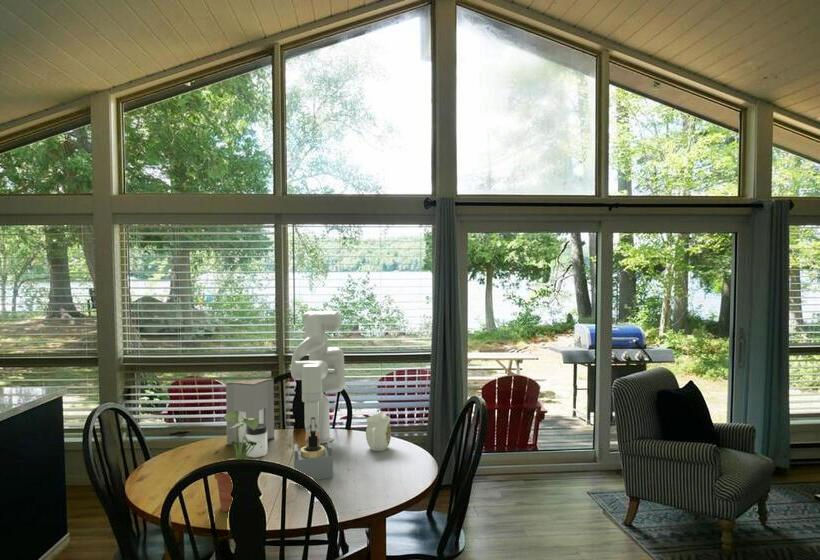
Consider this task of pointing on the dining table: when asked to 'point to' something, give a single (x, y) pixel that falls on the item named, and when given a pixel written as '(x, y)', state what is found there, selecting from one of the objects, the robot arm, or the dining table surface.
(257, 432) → the jar
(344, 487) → the dining table surface
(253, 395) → the cabinet
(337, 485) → the dining table surface
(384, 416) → the pitcher
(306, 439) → the cocktail shaker
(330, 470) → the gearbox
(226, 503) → the potted plant
